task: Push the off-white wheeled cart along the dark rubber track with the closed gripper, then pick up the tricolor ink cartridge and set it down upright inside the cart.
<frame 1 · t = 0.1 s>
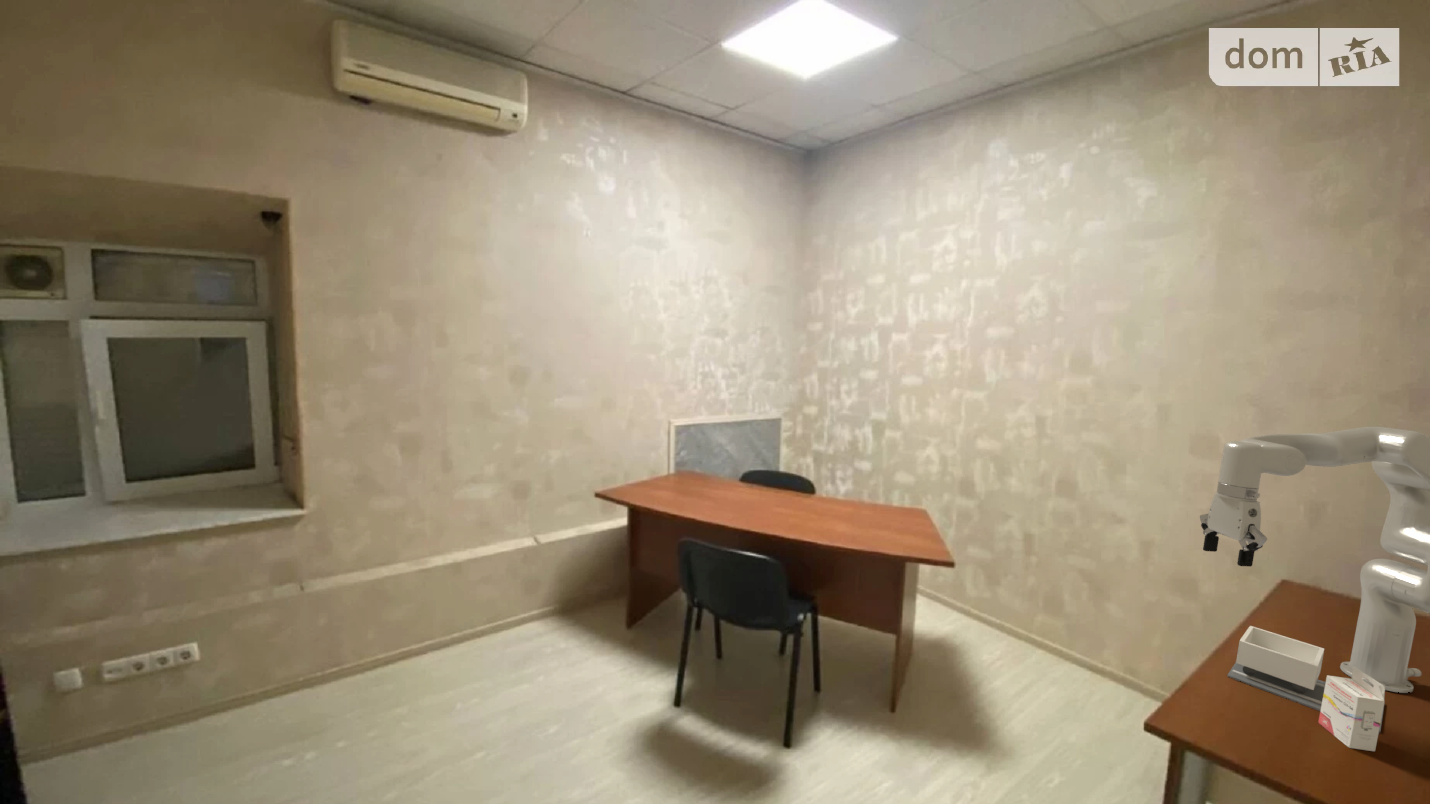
hand: (1226, 558, 146), 31 cm above the table, tool pointing down, fingers open, 9 cm apart
cart: (1279, 660, 148), point 5 cm above the table, slide at 0.0 cm
ink cartridge box: (1345, 738, 127), on the table
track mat: (1303, 690, 145), on the table
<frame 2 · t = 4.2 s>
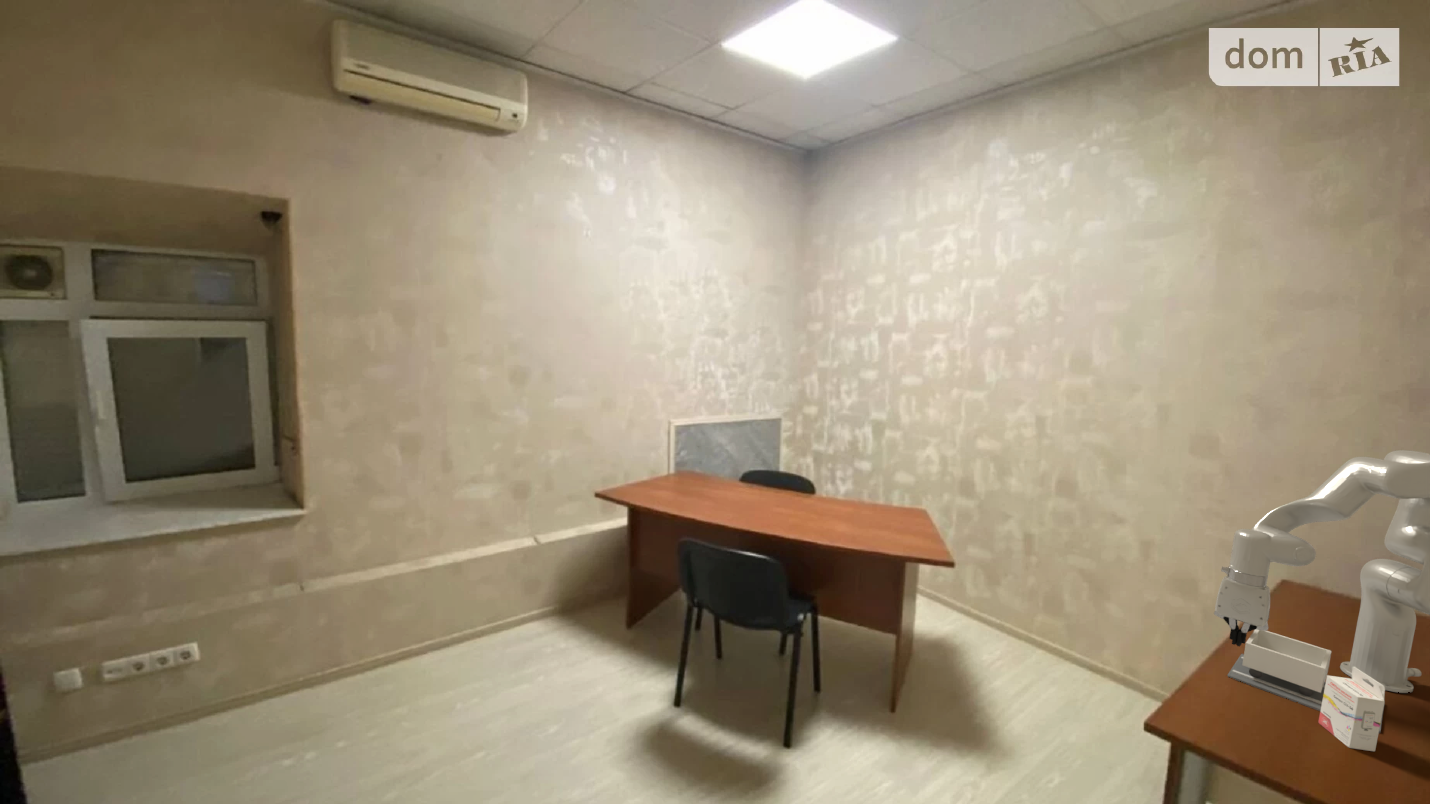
hand: (1236, 643, 154), 6 cm above the table, tool pointing down, fingers closed
cart: (1285, 662, 147), point 5 cm above the table, slide at 1.2 cm, touching gripper
everything else where it was.
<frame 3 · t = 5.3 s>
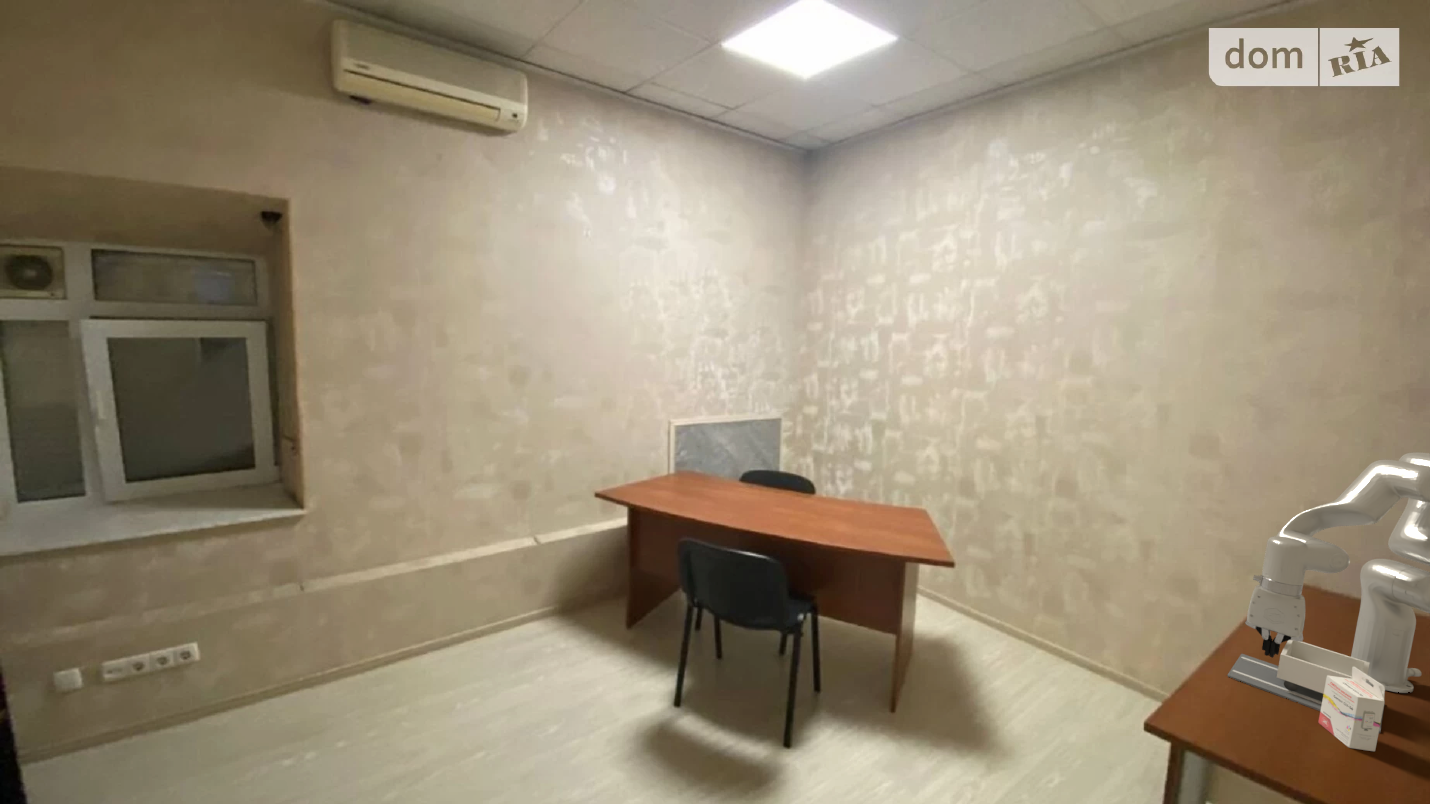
hand: (1269, 654, 149), 6 cm above the table, tool pointing down, fingers closed
cart: (1321, 674, 142), point 5 cm above the table, slide at 7.6 cm, touching gripper
everything else where it was.
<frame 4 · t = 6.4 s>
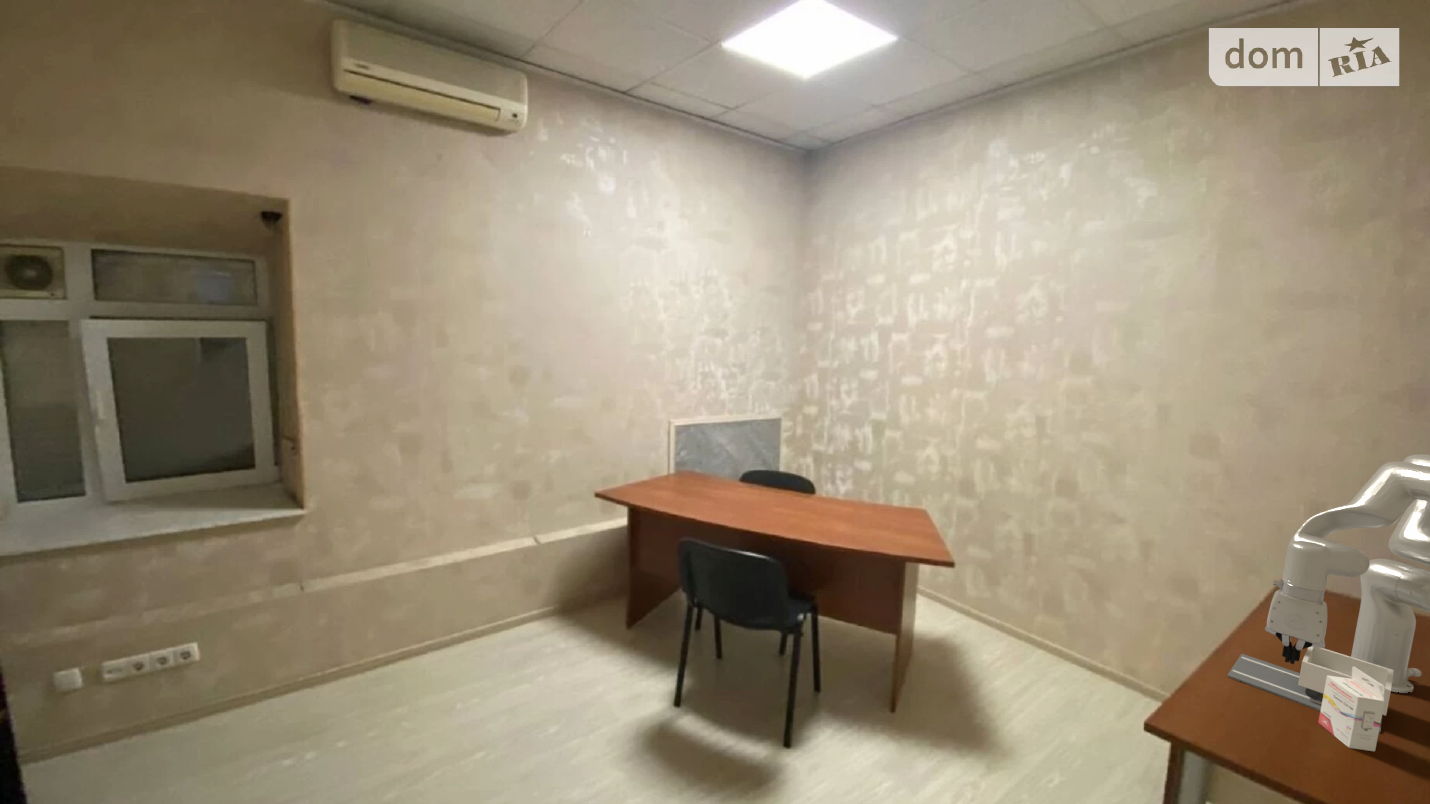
hand: (1290, 661, 146), 6 cm above the table, tool pointing down, fingers closed
cart: (1344, 682, 139), point 5 cm above the table, slide at 11.4 cm, touching gripper
everything else where it was.
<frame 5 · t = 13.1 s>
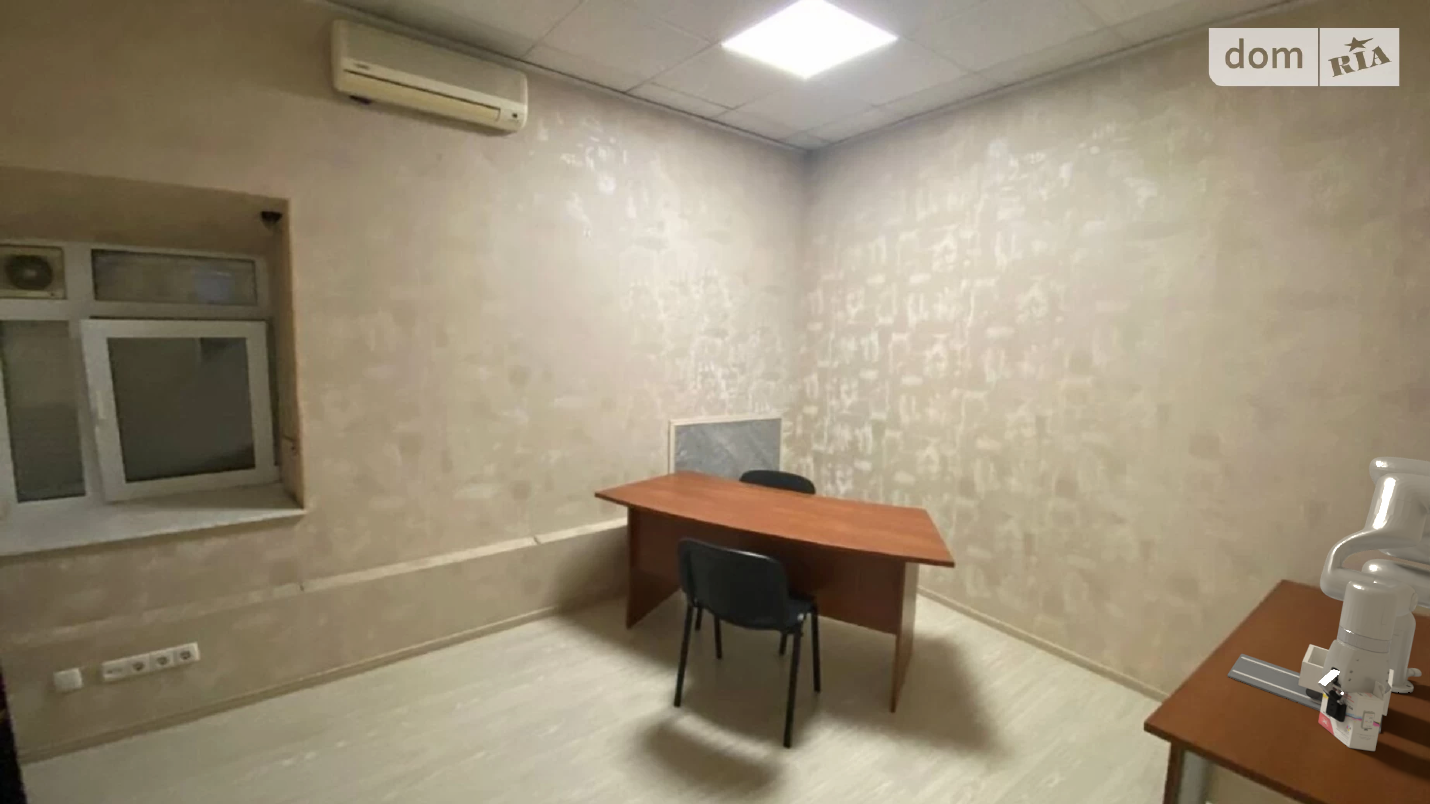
hand: (1348, 717, 127), 5 cm above the table, tool pointing down, fingers closed on ink cartridge box, 5 cm apart
cart: (1344, 682, 139), point 5 cm above the table, slide at 11.4 cm
ink cartridge box: (1345, 737, 127), on the table, touching gripper
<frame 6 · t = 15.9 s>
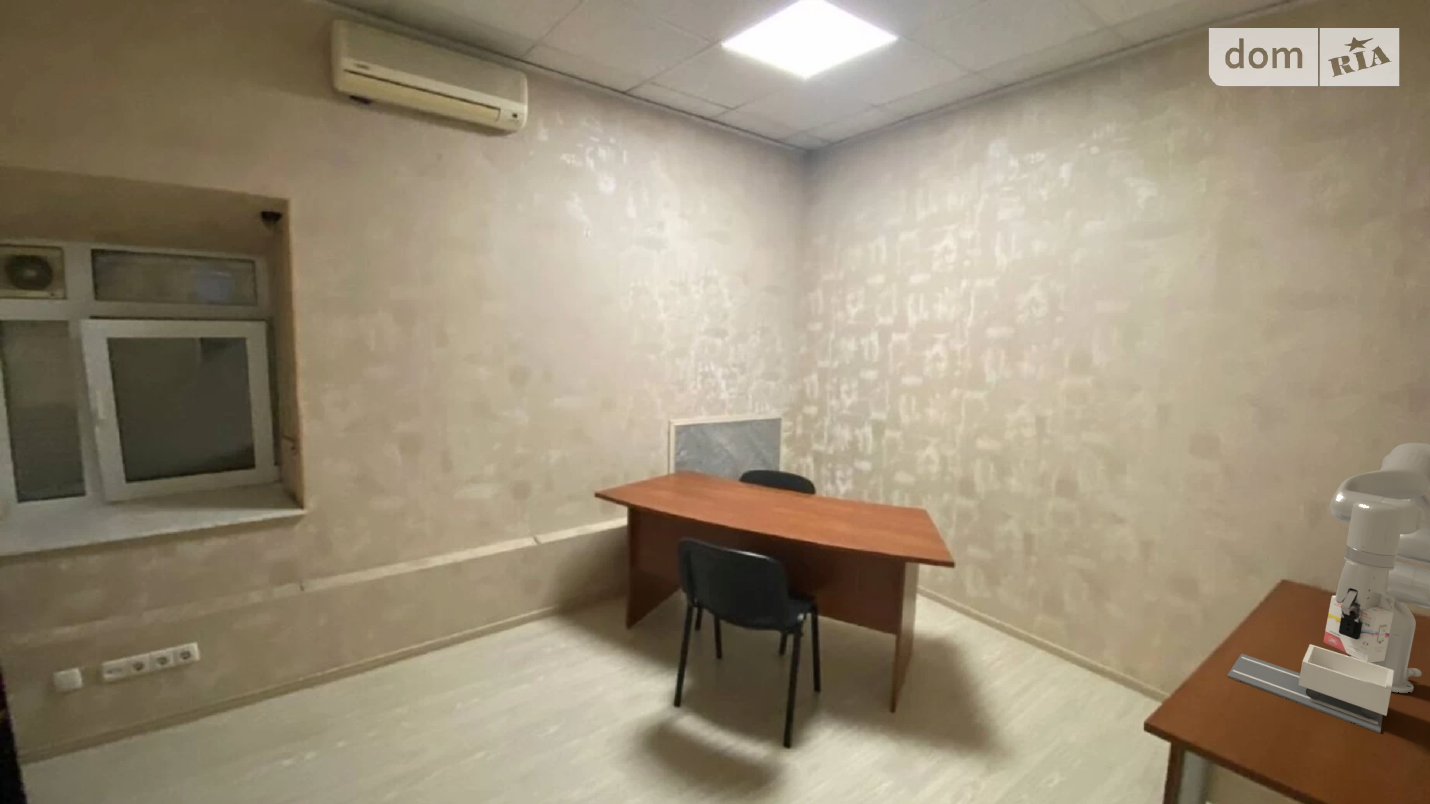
hand: (1356, 632, 131), 21 cm above the table, tool pointing down, fingers closed on ink cartridge box, 5 cm apart
ink cartridge box: (1352, 652, 132), point 16 cm above the table, touching gripper
everything else where it was.
when the fingers open (10 cm above the table, at t = 19.0 s): ink cartridge box drops 1 cm, resting on cart.
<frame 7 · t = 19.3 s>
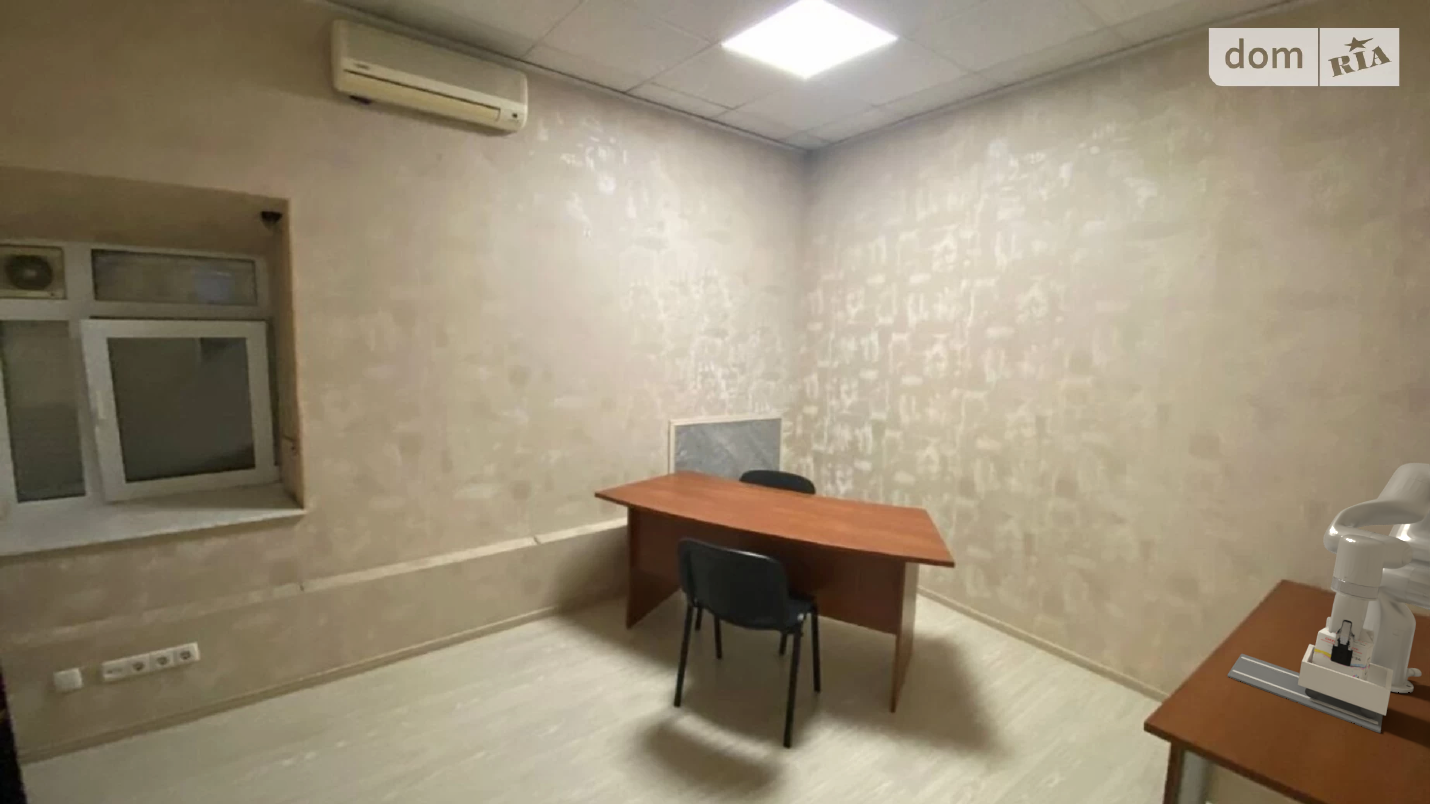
hand: (1341, 657, 139), 11 cm above the table, tool pointing down, fingers open, 8 cm apart
cart: (1344, 682, 139), point 5 cm above the table, slide at 11.3 cm, touching ink cartridge box
ink cartridge box: (1336, 684, 140), point 4 cm above the table, touching cart
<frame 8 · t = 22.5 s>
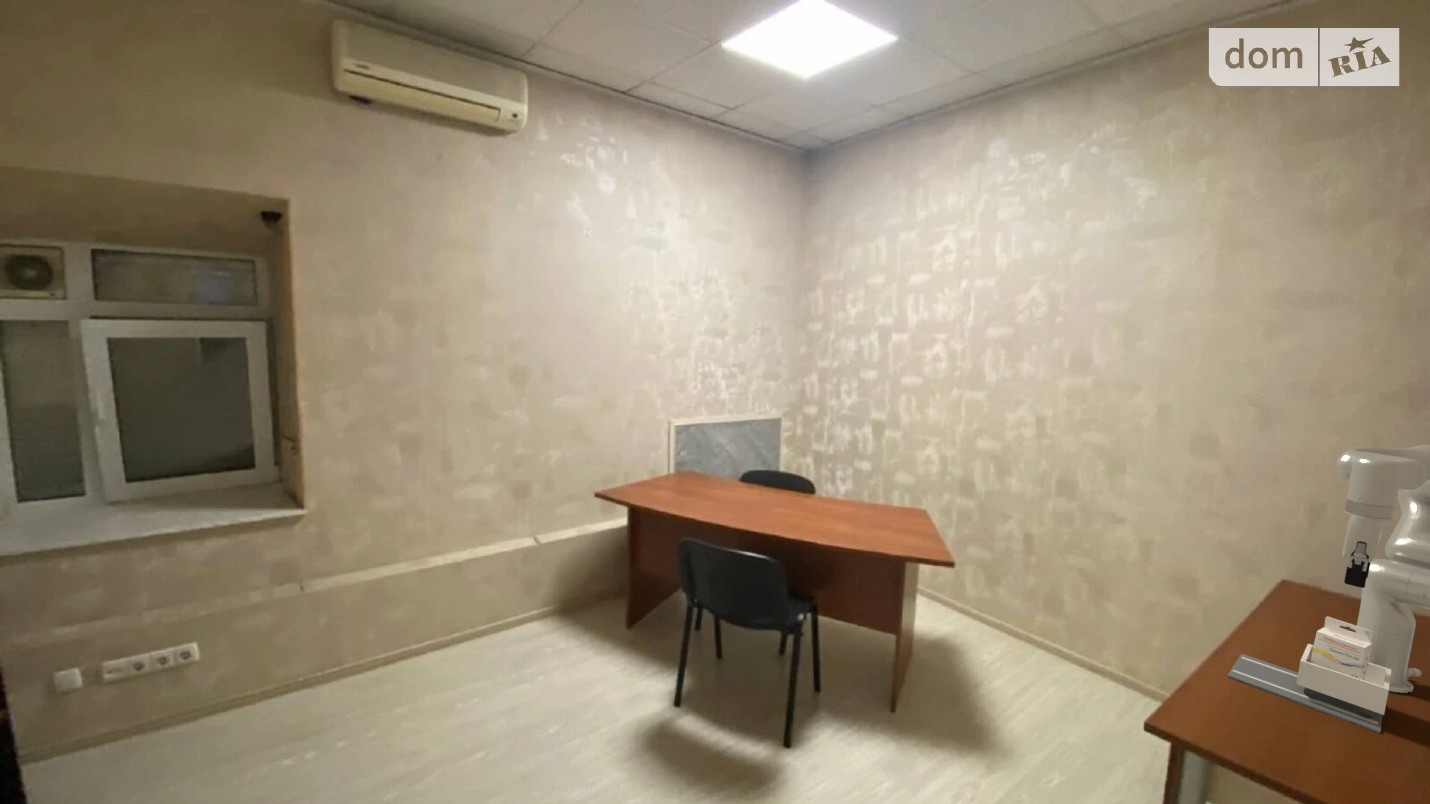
hand: (1355, 580, 137), 30 cm above the table, tool pointing down, fingers open, 9 cm apart
nothing on the table moved.
at the end: cart slide at 11.1 cm; ink cartridge box touching cart; ink cartridge box point 4.4 cm above the table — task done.
